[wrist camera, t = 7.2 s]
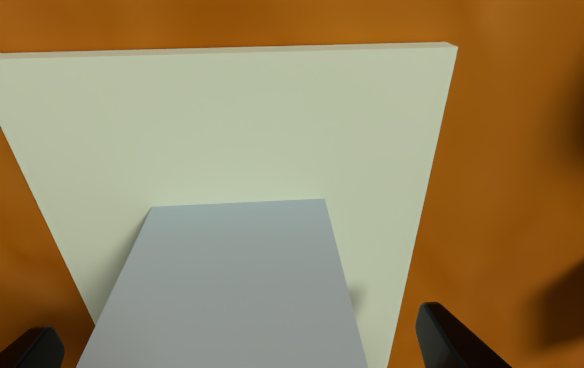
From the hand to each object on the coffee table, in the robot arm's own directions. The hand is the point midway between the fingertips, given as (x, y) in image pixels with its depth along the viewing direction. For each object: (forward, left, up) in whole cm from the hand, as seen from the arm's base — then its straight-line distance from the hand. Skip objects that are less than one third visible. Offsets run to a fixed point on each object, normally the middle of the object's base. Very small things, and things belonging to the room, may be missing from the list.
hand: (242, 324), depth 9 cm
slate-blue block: (0, 0, -2) cm, 2 cm away
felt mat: (0, 0, -3) cm, 3 cm away
